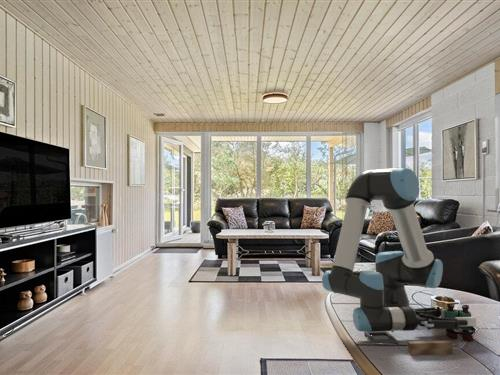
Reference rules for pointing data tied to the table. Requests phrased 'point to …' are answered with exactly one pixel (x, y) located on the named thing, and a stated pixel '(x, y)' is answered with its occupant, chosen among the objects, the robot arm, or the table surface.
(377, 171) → the robot arm
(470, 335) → the binoculars
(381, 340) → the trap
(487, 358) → the table surface
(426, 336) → the table surface
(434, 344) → the channel
